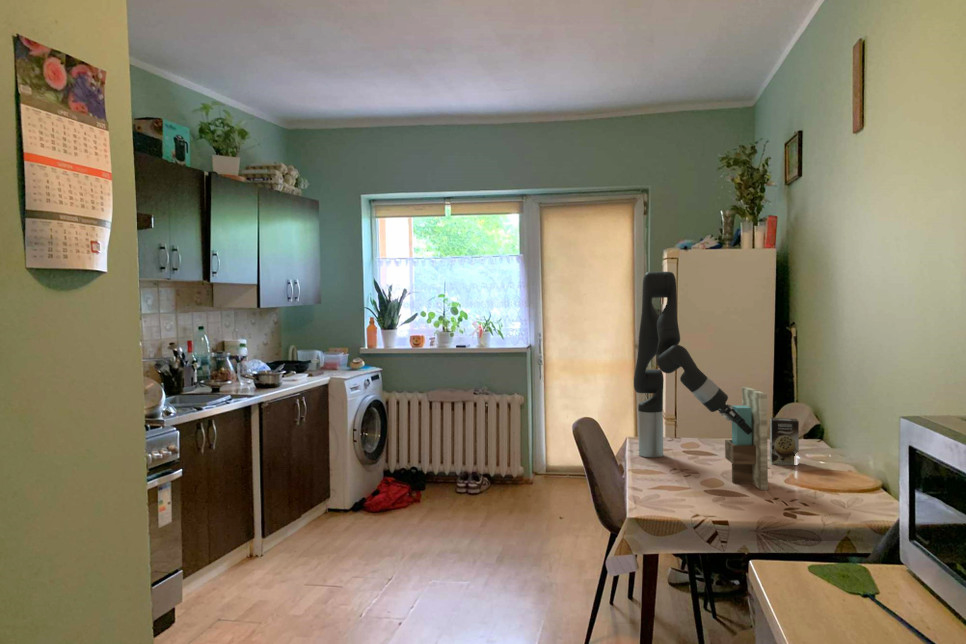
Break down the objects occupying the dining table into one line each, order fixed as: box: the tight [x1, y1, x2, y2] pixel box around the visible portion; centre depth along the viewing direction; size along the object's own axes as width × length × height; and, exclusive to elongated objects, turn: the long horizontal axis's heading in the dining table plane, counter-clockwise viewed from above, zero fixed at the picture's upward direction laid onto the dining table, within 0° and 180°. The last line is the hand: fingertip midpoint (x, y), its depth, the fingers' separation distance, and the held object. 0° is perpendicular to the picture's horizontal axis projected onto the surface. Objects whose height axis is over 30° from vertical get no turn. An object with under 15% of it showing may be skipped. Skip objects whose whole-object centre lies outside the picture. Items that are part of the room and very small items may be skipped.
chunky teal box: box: [731, 405, 752, 445], centre depth 217 cm, size 6×4×15 cm
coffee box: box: [769, 417, 800, 467], centre depth 242 cm, size 9×6×16 cm
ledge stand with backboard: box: [724, 386, 769, 491], centre depth 217 cm, size 18×9×30 cm, turn 176°
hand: (747, 430), depth 217 cm, fingers closed on chunky teal box, 5 cm apart
